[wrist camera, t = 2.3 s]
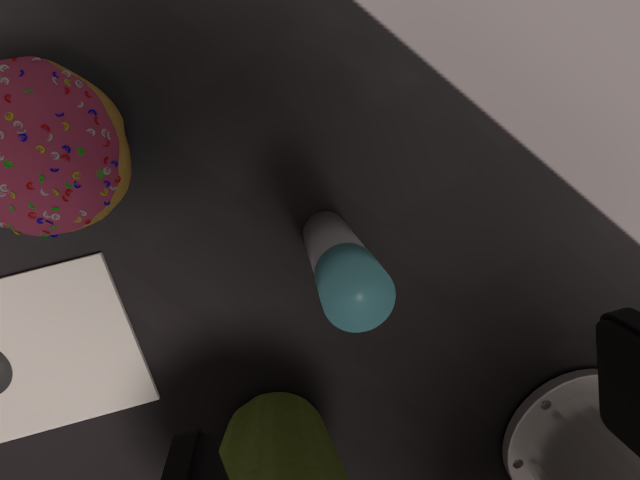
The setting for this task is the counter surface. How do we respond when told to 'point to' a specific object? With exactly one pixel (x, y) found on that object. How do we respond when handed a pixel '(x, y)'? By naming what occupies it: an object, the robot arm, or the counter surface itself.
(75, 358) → the paper
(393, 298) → the marker
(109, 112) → the cupcake
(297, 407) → the plant pot
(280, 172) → the counter surface
